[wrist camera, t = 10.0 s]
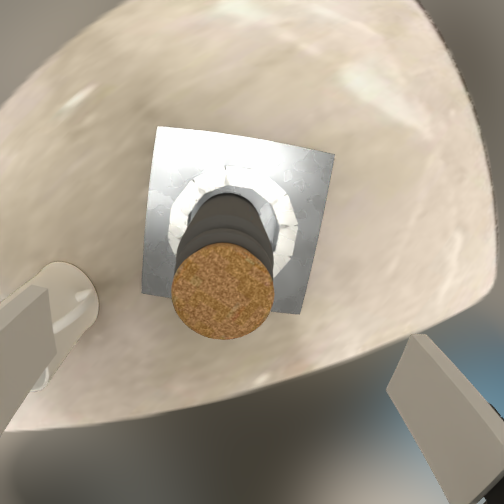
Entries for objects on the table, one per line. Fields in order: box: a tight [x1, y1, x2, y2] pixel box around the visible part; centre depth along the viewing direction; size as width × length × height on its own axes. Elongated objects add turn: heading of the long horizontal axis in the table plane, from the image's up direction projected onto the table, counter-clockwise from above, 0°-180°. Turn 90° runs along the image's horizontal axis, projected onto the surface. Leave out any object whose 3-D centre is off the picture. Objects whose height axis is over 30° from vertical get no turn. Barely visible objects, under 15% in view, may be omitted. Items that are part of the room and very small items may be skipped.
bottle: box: [171, 193, 274, 340], centre depth 21 cm, size 6×6×15 cm
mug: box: [0, 262, 99, 392], centre depth 25 cm, size 12×8×12 cm
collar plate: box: [142, 126, 335, 314], centre depth 28 cm, size 16×16×4 cm
